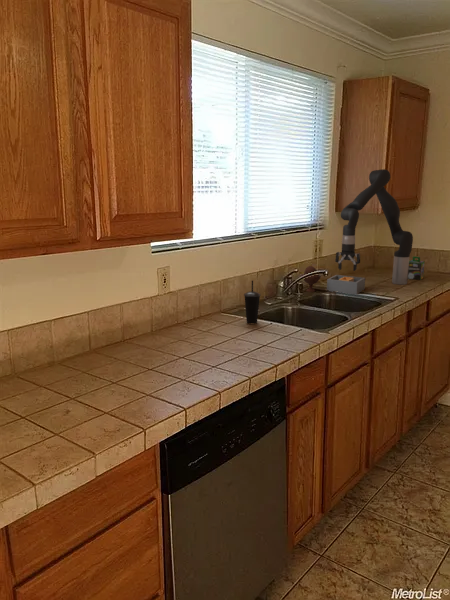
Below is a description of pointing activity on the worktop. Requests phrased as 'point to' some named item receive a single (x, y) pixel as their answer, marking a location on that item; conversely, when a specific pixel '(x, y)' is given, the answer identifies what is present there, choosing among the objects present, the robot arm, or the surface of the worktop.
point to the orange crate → (347, 279)
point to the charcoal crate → (346, 284)
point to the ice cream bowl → (311, 278)
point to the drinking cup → (252, 305)
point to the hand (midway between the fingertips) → (347, 270)
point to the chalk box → (416, 269)
